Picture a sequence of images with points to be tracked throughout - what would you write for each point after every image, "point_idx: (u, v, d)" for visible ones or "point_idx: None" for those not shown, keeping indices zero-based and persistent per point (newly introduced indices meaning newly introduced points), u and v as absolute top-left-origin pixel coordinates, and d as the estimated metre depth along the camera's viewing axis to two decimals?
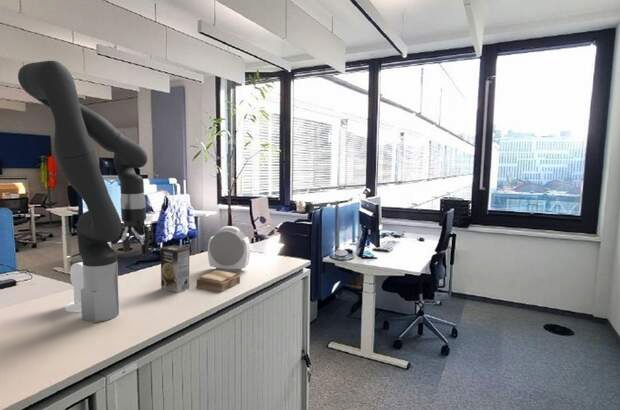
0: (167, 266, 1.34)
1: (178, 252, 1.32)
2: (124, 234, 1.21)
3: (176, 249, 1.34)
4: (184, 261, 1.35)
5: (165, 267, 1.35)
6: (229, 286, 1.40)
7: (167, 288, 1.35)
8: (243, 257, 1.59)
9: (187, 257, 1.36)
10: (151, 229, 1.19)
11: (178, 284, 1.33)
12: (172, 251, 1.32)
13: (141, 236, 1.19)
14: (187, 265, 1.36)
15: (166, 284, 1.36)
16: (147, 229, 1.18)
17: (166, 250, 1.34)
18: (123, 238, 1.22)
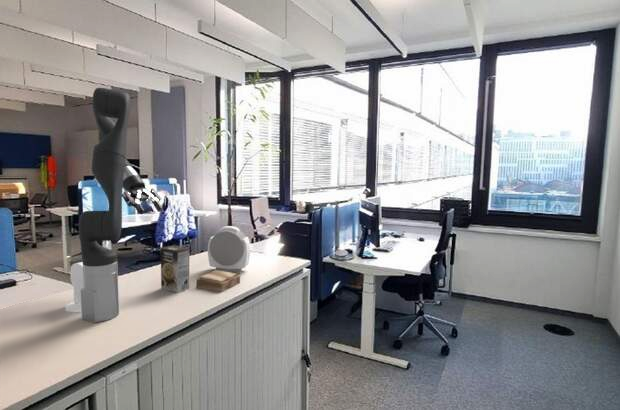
0: (167, 266, 1.34)
1: (178, 252, 1.32)
2: (138, 196, 1.37)
3: (176, 249, 1.34)
4: (184, 261, 1.35)
5: (165, 267, 1.35)
6: (229, 286, 1.40)
7: (167, 288, 1.35)
8: (243, 257, 1.59)
9: (187, 257, 1.36)
10: None
11: (178, 284, 1.33)
12: (172, 251, 1.32)
13: None
14: (187, 265, 1.36)
15: (166, 284, 1.36)
16: None
17: (166, 250, 1.34)
18: (137, 200, 1.36)
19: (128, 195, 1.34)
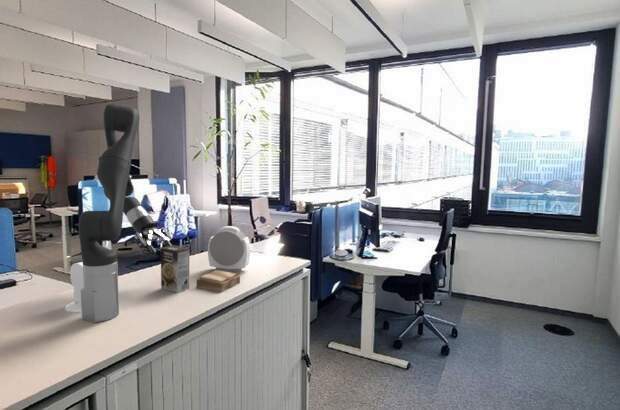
0: (167, 266, 1.34)
1: (178, 252, 1.32)
2: (150, 237, 1.37)
3: (176, 249, 1.34)
4: (184, 261, 1.35)
5: (165, 267, 1.35)
6: (229, 286, 1.40)
7: (167, 288, 1.35)
8: (243, 257, 1.59)
9: (187, 257, 1.36)
10: None
11: (178, 284, 1.33)
12: (172, 251, 1.32)
13: None
14: (187, 265, 1.36)
15: (166, 284, 1.36)
16: None
17: (166, 250, 1.34)
18: (149, 242, 1.35)
19: (140, 237, 1.34)
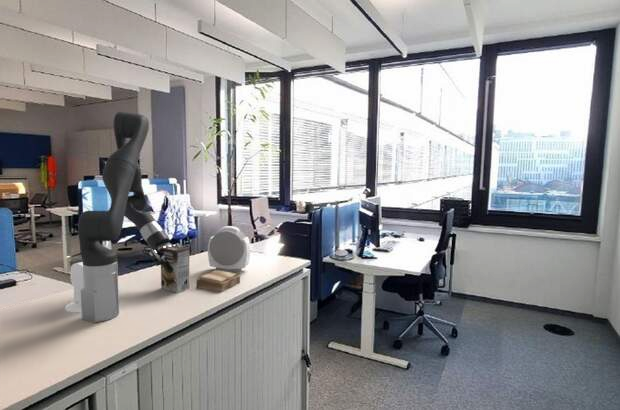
0: None
1: (178, 252, 1.32)
2: None
3: (176, 249, 1.34)
4: (184, 261, 1.35)
5: None
6: (229, 286, 1.40)
7: (167, 288, 1.35)
8: (243, 257, 1.59)
9: (187, 257, 1.36)
10: None
11: (178, 284, 1.33)
12: (172, 251, 1.32)
13: None
14: (187, 265, 1.36)
15: (166, 284, 1.36)
16: None
17: (166, 250, 1.34)
18: (165, 259, 1.34)
19: (156, 254, 1.32)
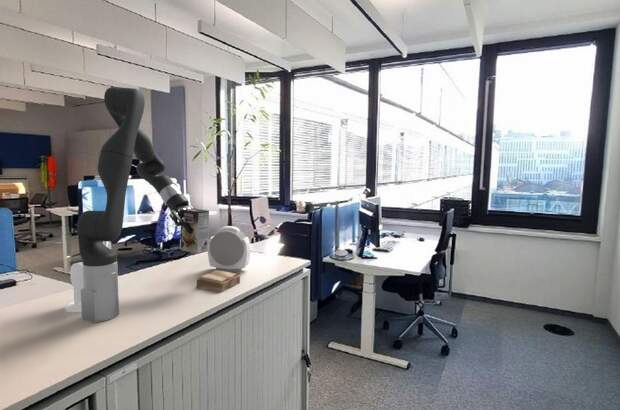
0: None
1: (199, 213, 1.33)
2: None
3: (196, 210, 1.35)
4: (204, 223, 1.36)
5: None
6: (229, 286, 1.40)
7: (187, 249, 1.37)
8: (243, 257, 1.59)
9: (206, 219, 1.37)
10: None
11: (198, 245, 1.35)
12: (193, 212, 1.34)
13: None
14: (207, 227, 1.38)
15: (186, 245, 1.37)
16: None
17: (186, 211, 1.35)
18: (186, 220, 1.35)
19: (176, 215, 1.33)
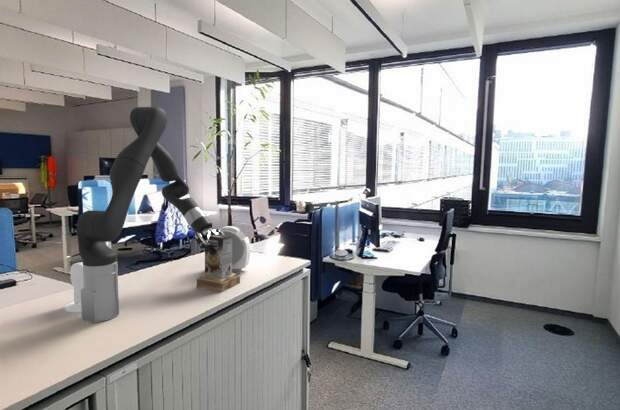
0: None
1: (223, 239, 1.37)
2: None
3: (221, 236, 1.39)
4: (228, 248, 1.40)
5: (210, 254, 1.40)
6: (229, 286, 1.40)
7: (211, 274, 1.41)
8: (243, 257, 1.59)
9: (230, 244, 1.41)
10: None
11: (223, 270, 1.39)
12: (217, 238, 1.38)
13: None
14: (230, 252, 1.42)
15: (210, 270, 1.41)
16: None
17: (211, 237, 1.39)
18: (209, 242, 1.38)
19: (200, 237, 1.36)
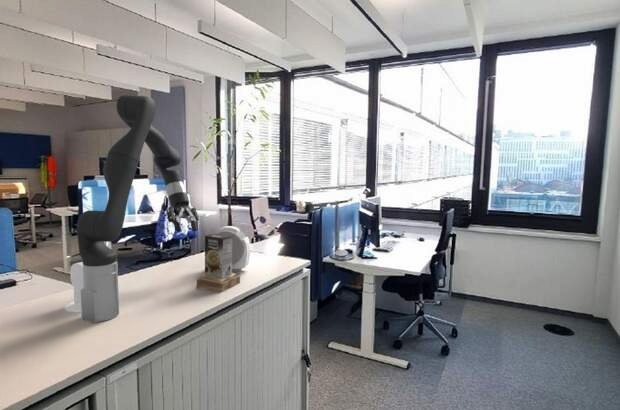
0: (212, 253, 1.39)
1: (223, 239, 1.37)
2: (180, 214, 1.43)
3: (220, 236, 1.39)
4: (227, 248, 1.40)
5: (210, 254, 1.40)
6: (229, 286, 1.40)
7: (211, 274, 1.41)
8: (243, 257, 1.59)
9: (230, 244, 1.41)
10: None
11: (223, 270, 1.39)
12: (217, 238, 1.38)
13: None
14: (230, 252, 1.42)
15: (210, 270, 1.41)
16: None
17: (211, 237, 1.39)
18: (178, 219, 1.41)
19: (171, 211, 1.40)
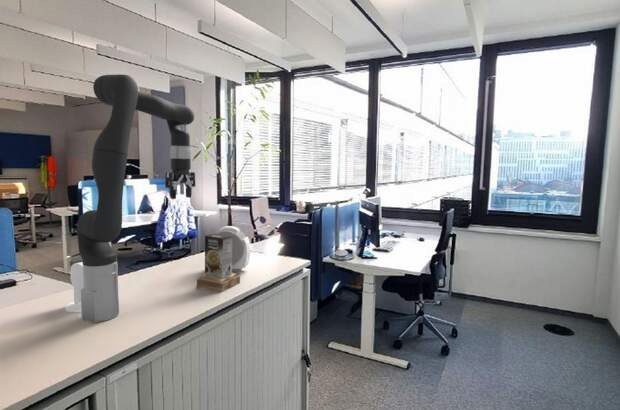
0: (212, 253, 1.39)
1: (223, 239, 1.37)
2: (178, 182, 1.40)
3: (220, 236, 1.39)
4: (227, 248, 1.40)
5: (210, 254, 1.40)
6: (229, 286, 1.40)
7: (211, 274, 1.41)
8: (243, 257, 1.59)
9: (230, 244, 1.41)
10: None
11: (223, 270, 1.39)
12: (217, 238, 1.38)
13: None
14: (230, 252, 1.42)
15: (210, 270, 1.41)
16: None
17: (211, 237, 1.39)
18: (175, 186, 1.39)
19: (171, 178, 1.37)
